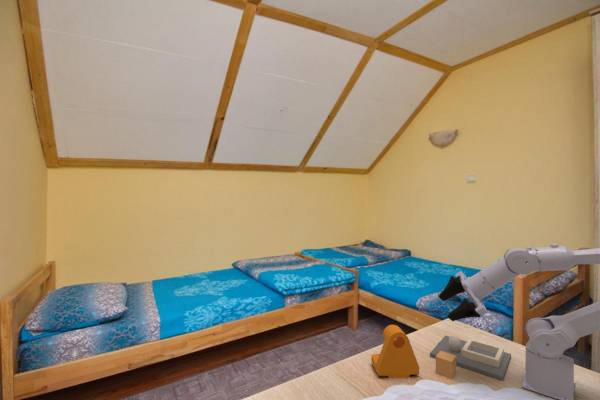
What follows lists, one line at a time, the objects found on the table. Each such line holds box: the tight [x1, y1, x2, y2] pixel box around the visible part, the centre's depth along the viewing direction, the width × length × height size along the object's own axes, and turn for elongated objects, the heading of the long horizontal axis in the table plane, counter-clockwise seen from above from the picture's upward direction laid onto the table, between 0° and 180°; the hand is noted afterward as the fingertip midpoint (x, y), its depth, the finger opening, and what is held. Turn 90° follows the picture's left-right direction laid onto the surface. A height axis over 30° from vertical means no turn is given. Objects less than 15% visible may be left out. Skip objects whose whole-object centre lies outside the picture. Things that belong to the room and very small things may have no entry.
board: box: [429, 335, 512, 381], centre depth 90 cm, size 18×15×4 cm
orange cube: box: [435, 351, 457, 379], centre depth 82 cm, size 4×4×4 cm
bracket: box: [371, 324, 420, 379], centre depth 83 cm, size 11×7×12 cm, turn 94°
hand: (445, 308), depth 86 cm, fingers open, 7 cm apart
